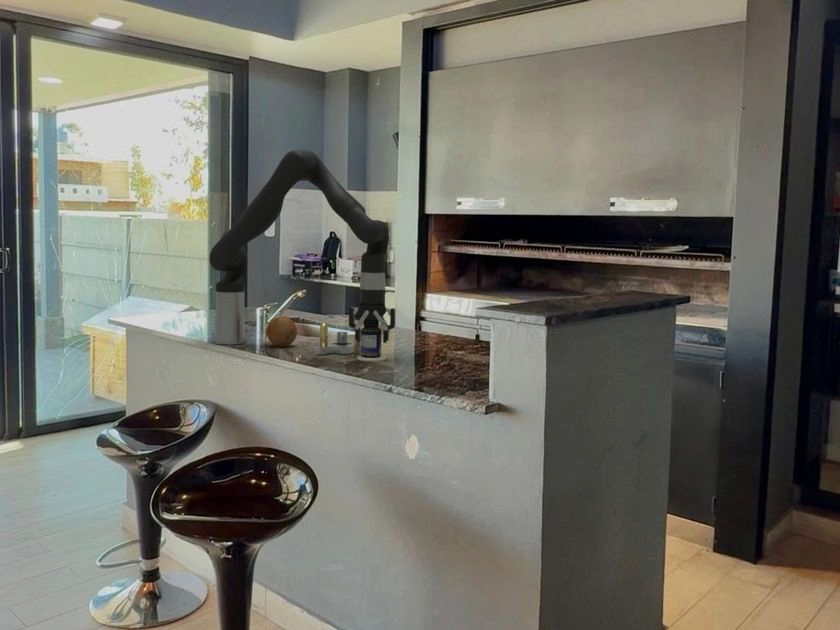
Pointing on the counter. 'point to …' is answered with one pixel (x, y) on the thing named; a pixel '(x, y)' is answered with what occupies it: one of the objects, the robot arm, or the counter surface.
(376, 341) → the pill bottle
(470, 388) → the counter surface
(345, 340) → the post
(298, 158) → the robot arm
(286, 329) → the onion
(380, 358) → the coaster
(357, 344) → the dowel
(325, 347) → the grey plate with post
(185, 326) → the counter surface
